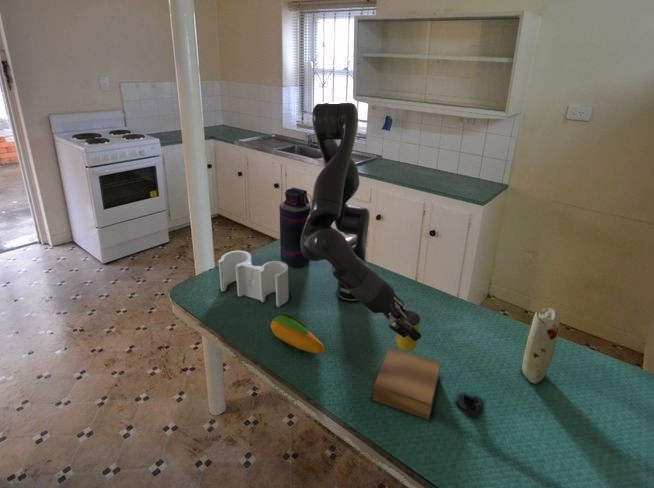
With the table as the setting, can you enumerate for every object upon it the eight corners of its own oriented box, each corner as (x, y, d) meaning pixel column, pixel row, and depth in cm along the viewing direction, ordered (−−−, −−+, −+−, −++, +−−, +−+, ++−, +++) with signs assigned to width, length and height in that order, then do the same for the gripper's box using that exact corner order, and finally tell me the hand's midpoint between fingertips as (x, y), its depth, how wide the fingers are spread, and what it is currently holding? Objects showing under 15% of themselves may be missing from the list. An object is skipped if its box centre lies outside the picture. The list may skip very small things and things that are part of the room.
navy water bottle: (298, 271, 155) (298, 199, 145) (274, 262, 161) (272, 192, 150) (318, 256, 167) (319, 188, 156) (295, 248, 172) (294, 182, 162)
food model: (545, 391, 105) (562, 329, 98) (517, 380, 108) (532, 319, 101) (548, 367, 113) (565, 308, 106) (523, 357, 116) (537, 299, 109)
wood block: (388, 361, 113) (389, 347, 111) (438, 377, 108) (440, 362, 107) (372, 399, 101) (374, 384, 99) (429, 419, 96) (431, 404, 94)
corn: (280, 304, 124) (333, 331, 113) (282, 323, 127) (333, 351, 116) (263, 317, 118) (316, 347, 107) (265, 337, 121) (317, 368, 110)
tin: (401, 333, 104) (404, 308, 101) (419, 341, 101) (423, 315, 99) (392, 345, 100) (395, 318, 97) (411, 354, 97) (415, 327, 95)
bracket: (294, 293, 142) (293, 263, 138) (280, 309, 133) (279, 277, 129) (234, 276, 151) (232, 247, 146) (218, 290, 142) (215, 260, 138)
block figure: (462, 384, 103) (485, 394, 101) (461, 391, 104) (483, 401, 101) (455, 401, 99) (479, 412, 96) (454, 408, 99) (477, 419, 97)
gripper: (386, 297, 87) (435, 342, 92) (377, 262, 100) (420, 303, 105) (361, 317, 89) (410, 360, 93) (355, 281, 102) (398, 320, 107)
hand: (415, 330), depth 99 cm, fingers closed on tin, 5 cm apart
